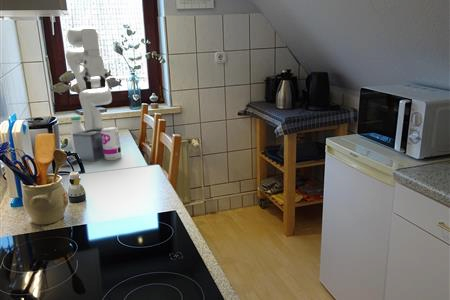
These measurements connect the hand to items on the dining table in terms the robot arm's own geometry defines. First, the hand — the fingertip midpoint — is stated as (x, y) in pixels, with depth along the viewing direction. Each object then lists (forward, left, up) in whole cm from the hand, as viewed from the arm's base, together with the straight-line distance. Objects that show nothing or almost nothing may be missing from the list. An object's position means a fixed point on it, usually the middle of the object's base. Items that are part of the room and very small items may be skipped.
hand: (96, 88), depth 203 cm
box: (+3, -9, -34) cm, 35 cm away
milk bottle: (-9, -8, -34) cm, 36 cm away
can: (+3, -10, -33) cm, 35 cm away
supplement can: (+14, -10, -34) cm, 38 cm away
